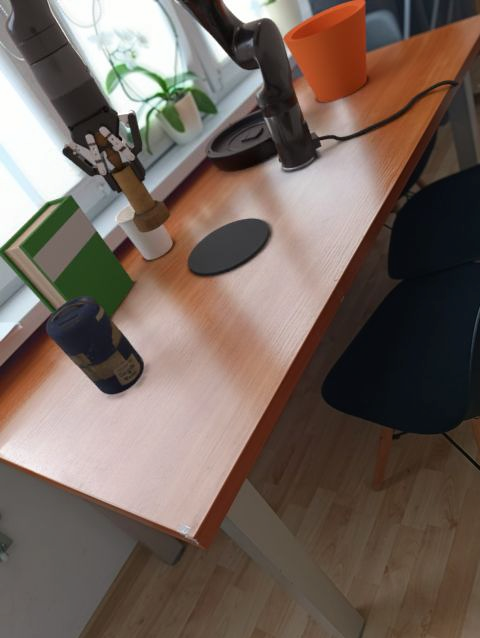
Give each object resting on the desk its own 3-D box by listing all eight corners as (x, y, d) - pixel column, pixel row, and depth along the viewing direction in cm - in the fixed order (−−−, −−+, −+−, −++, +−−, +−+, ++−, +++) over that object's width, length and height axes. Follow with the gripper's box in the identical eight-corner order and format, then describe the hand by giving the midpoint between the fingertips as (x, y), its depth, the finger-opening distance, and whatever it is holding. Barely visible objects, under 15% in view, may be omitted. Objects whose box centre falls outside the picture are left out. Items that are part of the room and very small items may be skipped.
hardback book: (98, 335, 105) (21, 245, 90) (74, 337, 108) (-4, 251, 93) (134, 282, 116) (70, 194, 101) (111, 286, 119) (46, 202, 104)
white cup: (181, 235, 124) (157, 194, 117) (166, 259, 118) (139, 217, 111) (152, 241, 129) (127, 202, 121) (135, 264, 123) (108, 224, 115)
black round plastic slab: (198, 182, 146) (288, 159, 131) (189, 164, 142) (280, 138, 127) (232, 136, 164) (314, 111, 149) (224, 119, 160) (308, 92, 146)
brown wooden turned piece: (163, 227, 86) (103, 130, 74) (134, 236, 88) (71, 144, 77) (174, 207, 90) (118, 113, 79) (146, 216, 93) (88, 126, 81)
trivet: (261, 210, 116) (260, 207, 116) (277, 249, 101) (276, 246, 100) (187, 245, 119) (186, 243, 118) (191, 288, 103) (190, 285, 103)
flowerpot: (388, 83, 142) (372, 7, 130) (307, 117, 148) (284, 48, 136) (373, 62, 160) (357, -6, 148) (301, 94, 167) (281, 31, 154)
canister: (107, 369, 94) (45, 301, 83) (149, 352, 93) (93, 280, 81) (99, 405, 87) (31, 336, 76) (145, 387, 85) (83, 314, 74)
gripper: (24, 113, 72) (94, 211, 83) (107, 67, 70) (168, 174, 81) (34, 101, 77) (98, 195, 88) (111, 58, 76) (167, 159, 86)
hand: (131, 184), depth 84 cm, fingers closed on brown wooden turned piece, 4 cm apart
